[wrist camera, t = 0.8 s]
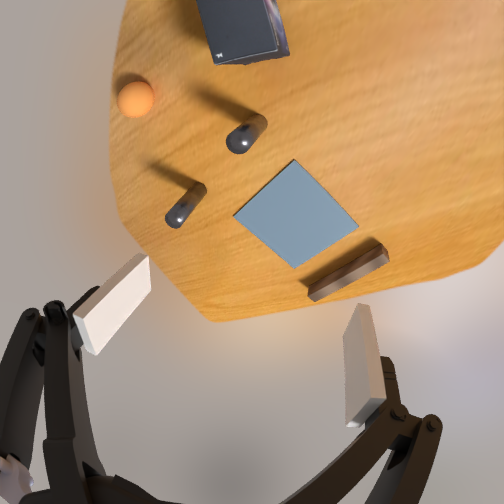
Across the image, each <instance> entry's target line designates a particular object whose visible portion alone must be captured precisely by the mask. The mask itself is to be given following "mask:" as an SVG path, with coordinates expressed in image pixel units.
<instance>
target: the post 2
mask: <svg viewBox="0 0 504 504" xmlns="http://www.w3.org/2000/svg"><path fill="white" fill-rule="evenodd" d="M267 125H268V123H267V120H266V118H265V117H264V116H262V115H259V114H256V115H253V116H251V117H250V118H249V119H247V120H246V121H245V122H244V123H242V124H241V125H240V126H238V127H237V128H236V129H235V130H233V131H232V132H231V133H230V134H229V135H228V136H227V138H226V145H227V147H228V149H229V150H230V151H231V152H233V153H235V154H243V153H245V152H247V151H248V149H249V148H250V147H251V146H252V145H253V144H254V142H255V141H256V140H257V139H258V138H259V136H260V135H261V134H262V133H263V132H264V131H265V130H266V128H267Z"/></svg>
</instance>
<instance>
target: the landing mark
mask: <svg viewBox="0 0 504 504" xmlns="http://www.w3.org/2000/svg"><path fill="white" fill-rule="evenodd" d="M234 218H235V219H236V220H238V221H239V222H240V223H241V224H242V225H243V226H245V227H246V228H247V229H248V230H249V231H251V232H252V233H253V234H254V235H255V236H256V237H258V238H259V239H260V240H261V241H262V242H264V243H265V244H266V245H267V246H268V247H269V248H271V249H272V250H273V251H274V252H275V253H276V254H278V255H279V256H280V257H281V258H282V259H284V260H285V261H286V262H287V263H288V264H289V265H291V266H292V267H293V268H294V269H295V268H296V267H298V266H299V265H301V264H303V263H304V262H306V261H307V260H309V259H310V258H312V257H314V256H315V255H317V254H318V253H320V252H321V251H323V250H325V249H326V248H328V247H329V246H331V245H332V244H334V243H335V242H337V241H338V240H340V239H341V238H343V237H345V236H346V235H348V234H349V233H351V232H352V231H354V230H355V229H357V228H358V227H359V226H358V225H357V223H356V222H355V221H354V220H353V219H352V218H351V217H350V216H349V215H348V214H347V212H346V211H345V210H344V209H343V208H342V207H341V206H340V205H339V204H338V203H337V202H336V201H335V200H334V198H333V197H332V196H331V195H330V194H329V193H328V192H327V191H326V190H325V189H324V188H323V187H322V186H321V185H320V184H319V183H318V182H317V181H316V180H315V179H314V178H313V177H312V176H311V175H310V174H309V173H308V172H307V171H306V170H305V169H304V168H303V167H302V166H301V165H300V164H299V163H298V162H297V161H296V160H294V161H293V162H292V163H291V164H290V165H288V166H287V167H286V168H285V169H284V170H283V171H282V172H281V173H280V174H278V175H277V176H276V177H275V178H274V179H273V180H272V181H271V182H270V183H269V184H268V185H266V186H265V187H264V188H263V189H262V190H261V191H260V192H259V193H258V194H257V195H256V196H255V197H254V198H252V199H251V200H250V201H249V202H248V203H247V204H246V205H245V206H244V207H243V208H242V209H241V210H240V211H239V212H238V213H237V214H236V215H234Z"/></svg>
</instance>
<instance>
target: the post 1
mask: <svg viewBox="0 0 504 504" xmlns="http://www.w3.org/2000/svg"><path fill="white" fill-rule="evenodd" d="M206 193H207V189H206V187H205V185H204V184H202V183H199V182H197V183H194V184H193V185H192V186H191V187H190V189H189V190H188V191H187V192H186V193H185V194H184V195H183V196H182V197H181V198H180V199H179V200H178V202H177V203H176V204H175V205H174V206H173V207H172V208H171V209H170V211H169V212H168V213H167V214H166V215H165V221H166V223H167V224H168V225H169V226H170V227H172V228H175V229H177V228H180V227H181V225H182V224H183V223H184V222H185V220H186V219H187V218H188V216H189V215H190V214H191V213H192V211H193V210H194V209H195V207H196V206H197V205H198V204H199V202H200V201H201V200H202V199H203V197H204V196H205V195H206Z"/></svg>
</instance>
